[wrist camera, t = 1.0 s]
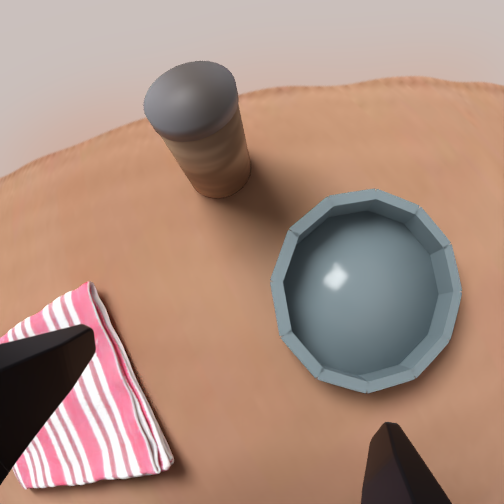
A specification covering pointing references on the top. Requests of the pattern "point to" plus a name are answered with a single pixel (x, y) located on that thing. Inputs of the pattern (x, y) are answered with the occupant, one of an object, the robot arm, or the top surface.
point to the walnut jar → (201, 125)
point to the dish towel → (92, 408)
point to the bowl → (366, 290)
